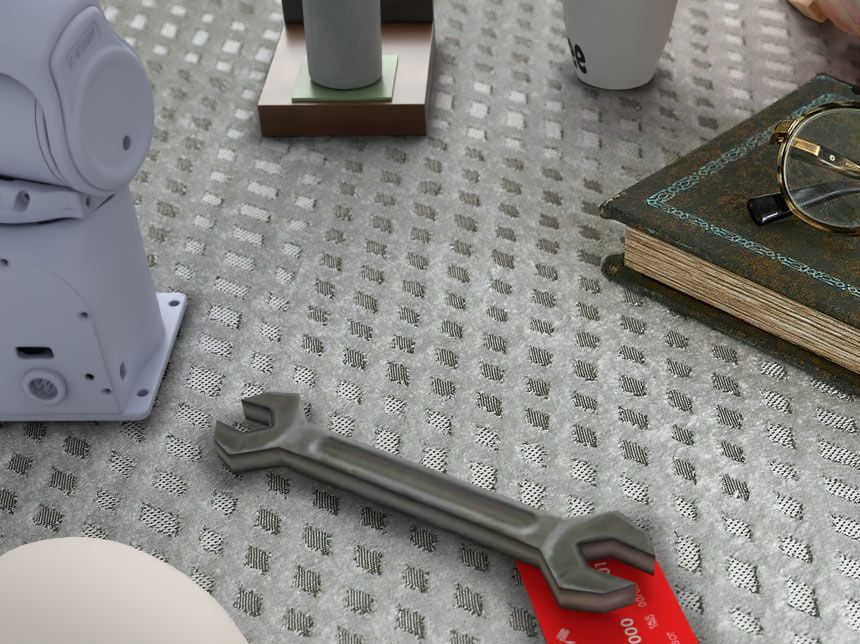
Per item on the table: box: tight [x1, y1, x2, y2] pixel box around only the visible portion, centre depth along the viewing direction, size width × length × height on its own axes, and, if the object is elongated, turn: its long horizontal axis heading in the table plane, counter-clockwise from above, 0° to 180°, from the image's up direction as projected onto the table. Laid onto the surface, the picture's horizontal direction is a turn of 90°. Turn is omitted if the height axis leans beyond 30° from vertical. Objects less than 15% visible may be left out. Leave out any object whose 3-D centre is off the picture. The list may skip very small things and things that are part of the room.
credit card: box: [514, 558, 700, 644], centre depth 45 cm, size 8×5×1 cm, turn 15°
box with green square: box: [257, 0, 437, 137], centre depth 76 cm, size 13×10×4 cm
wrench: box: [212, 391, 657, 614], centre depth 48 cm, size 5×2×20 cm
